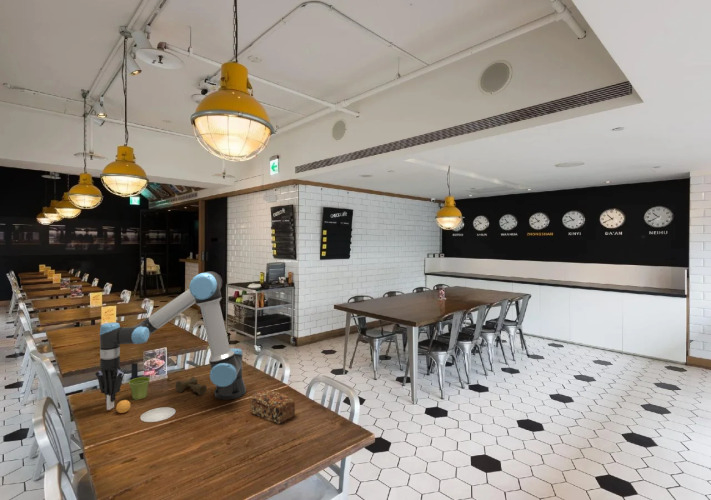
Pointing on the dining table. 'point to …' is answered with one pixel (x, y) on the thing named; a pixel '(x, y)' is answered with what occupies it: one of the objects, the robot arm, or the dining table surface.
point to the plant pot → (139, 387)
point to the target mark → (157, 414)
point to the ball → (123, 406)
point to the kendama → (191, 386)
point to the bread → (272, 406)
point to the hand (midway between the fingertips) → (110, 408)
